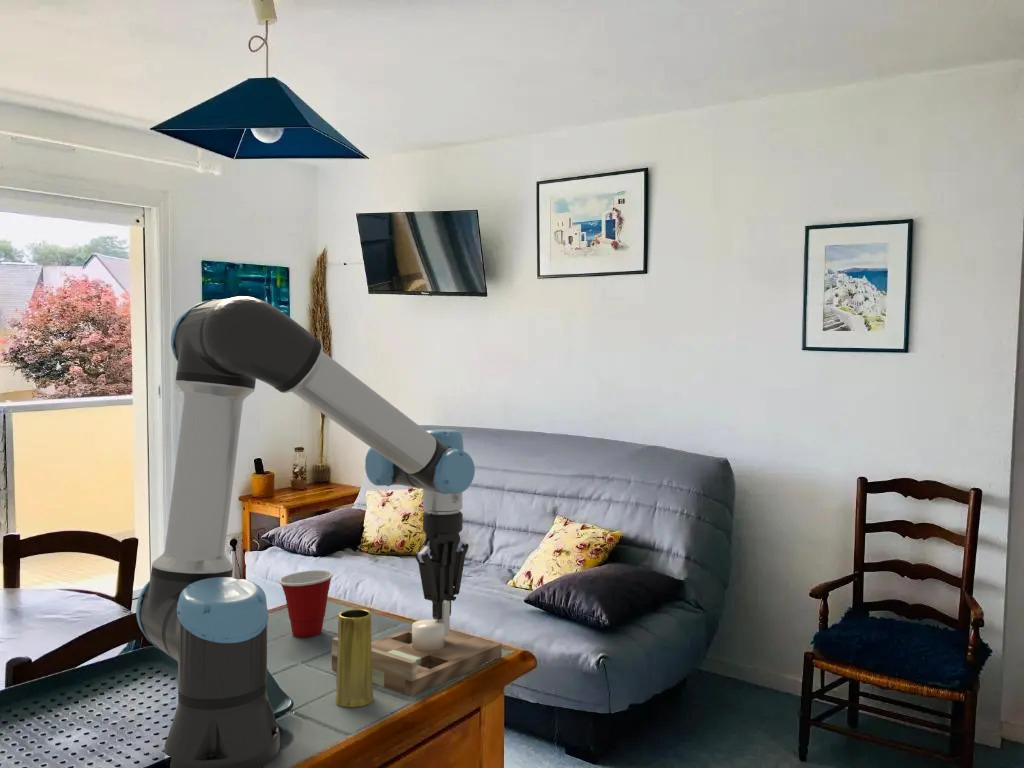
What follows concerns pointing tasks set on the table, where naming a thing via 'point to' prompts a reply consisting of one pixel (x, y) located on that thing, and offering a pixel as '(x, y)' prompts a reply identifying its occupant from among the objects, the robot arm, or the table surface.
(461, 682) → the table surface
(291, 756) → the table surface
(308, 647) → the table surface
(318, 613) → the plastic cup
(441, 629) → the white rounded block
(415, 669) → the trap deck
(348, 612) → the vase
